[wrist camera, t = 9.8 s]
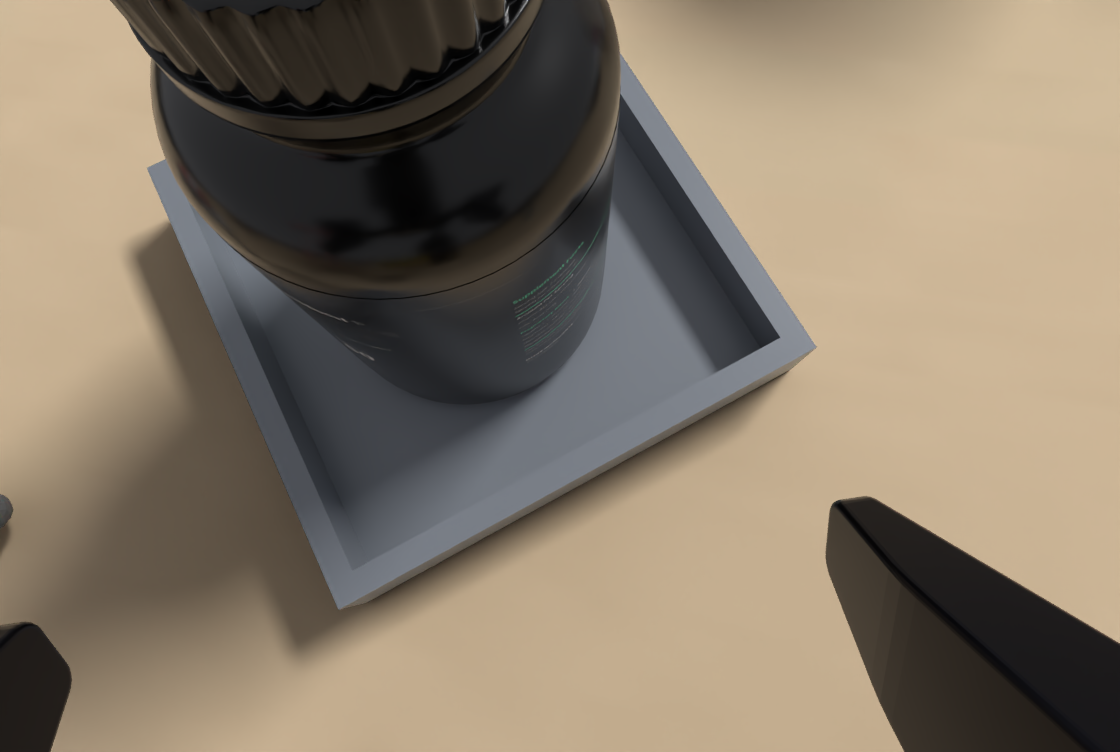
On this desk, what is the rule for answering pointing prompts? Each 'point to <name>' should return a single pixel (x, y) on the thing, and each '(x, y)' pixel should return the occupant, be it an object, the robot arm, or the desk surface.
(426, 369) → the supplement bottle
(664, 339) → the tray
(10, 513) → the walkie-talkie
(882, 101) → the desk surface
